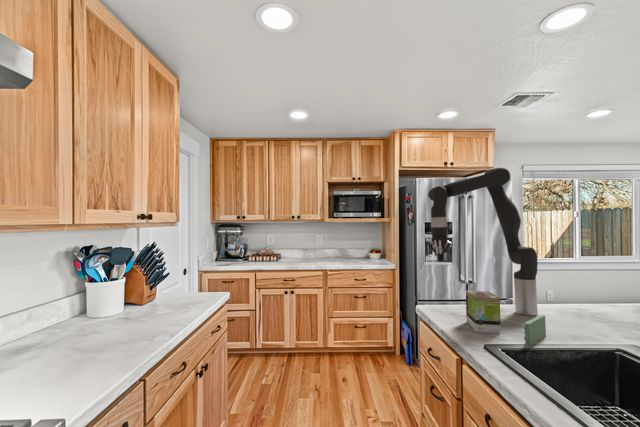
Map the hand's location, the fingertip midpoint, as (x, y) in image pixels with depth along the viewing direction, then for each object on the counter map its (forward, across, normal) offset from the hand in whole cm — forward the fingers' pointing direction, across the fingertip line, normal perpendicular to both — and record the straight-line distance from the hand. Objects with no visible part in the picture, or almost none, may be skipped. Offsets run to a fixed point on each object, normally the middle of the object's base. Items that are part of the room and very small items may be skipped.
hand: (440, 261), depth 152 cm
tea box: (+27, -20, +1) cm, 34 cm away
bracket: (+27, -40, +1) cm, 48 cm away
